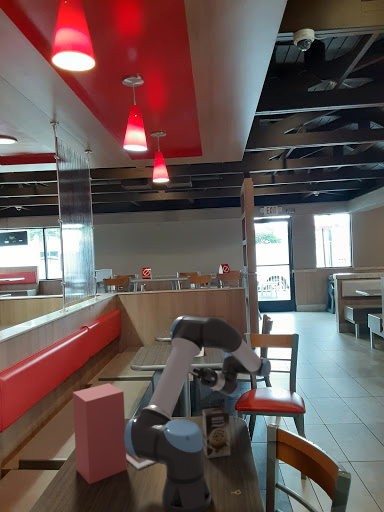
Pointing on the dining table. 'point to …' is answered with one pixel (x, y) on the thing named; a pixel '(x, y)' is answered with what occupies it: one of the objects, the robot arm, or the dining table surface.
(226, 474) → the dining table surface
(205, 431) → the coffee box
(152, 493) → the dining table surface
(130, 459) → the mat
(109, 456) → the red rectangular block
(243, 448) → the dining table surface
